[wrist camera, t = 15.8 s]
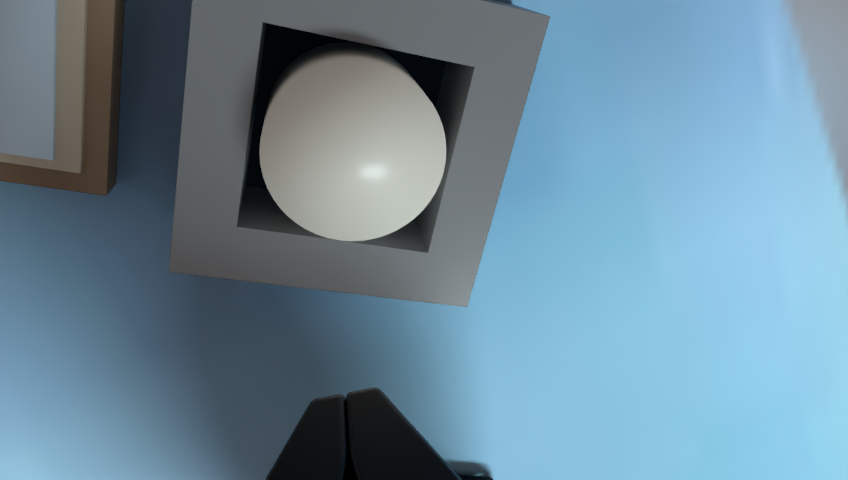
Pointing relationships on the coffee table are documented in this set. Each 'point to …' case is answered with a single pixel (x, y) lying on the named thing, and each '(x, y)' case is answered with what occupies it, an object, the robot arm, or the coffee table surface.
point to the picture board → (60, 92)
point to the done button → (351, 143)
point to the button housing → (456, 106)
